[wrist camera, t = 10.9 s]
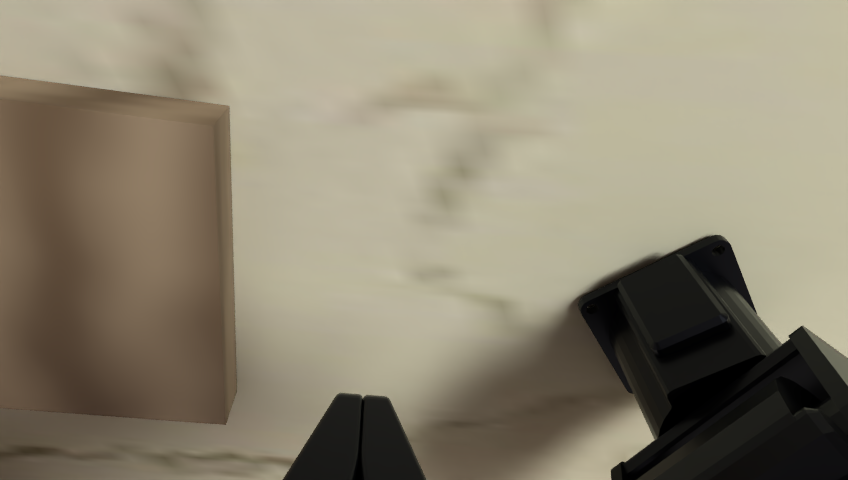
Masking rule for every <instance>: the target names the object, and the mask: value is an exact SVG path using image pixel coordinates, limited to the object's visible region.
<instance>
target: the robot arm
mask: <svg viewBox="0 0 848 480" xmlns="http://www.w3.org/2000/svg"><path fill="white" fill-rule="evenodd" d="M719 245H720V246H719ZM716 246H719V248H718V249H716V250H713V249H714V248H715V247H716ZM712 250H713V251H712ZM592 304H595V305H594V306H593V307H591V308H587V307H588V306H589V305H592ZM578 307H579V309H580V312H581V314H582V316H583V317H584V319H585V321H586V322H587V324H588V326H589V328H590V329H591V331H592V333H593V334H594V336H595V338H596V339H597V341H598V343H599V344H600V346H601V348H602V349H603V351H604V353H605V354H606V356H607V358H608V359H609V361H610V363H611V364H612V366H613V368H614V369H615V371H616V373H617V374H618V376H619V378H620V379H621V381H622V383H623V385H624V386H625V388H626V390H627V391H628V392H629V393H632V394H634V396H635V398H636V400H637V402H638V405H639V407H640V409H641V411H642V413H643V415H644V418H645V420H646V422H647V424H648V426H649V428H650V431H651V433H652V435H653V437H654V439H655V440H654V441H653V442H652V443H650V444H649V445H648V446H646V447H645V448H644V449H642V450H641V451H640V452H638V453H637V454H636V455H634V456H633V457H632V458H630V459H629V460H628V461H626V462H621V463H619V464H618V465H617V466H615V467H614V468H613V469H611V480H848V358H847V357H845V356H844V355H843V354H841V353H840V352H839V351H837V350H836V349H834V348H833V347H832V346H830V345H829V344H827V343H826V342H825V341H823V340H822V339H821V338H819V337H818V336H816V335H815V334H814V333H812V332H811V331H809V330H808V329H807V328H805V327H804V326H801V327H800V328H798V329H797V330H796V331H794V332H793V333H792V334H790V335H789V338H790V339H789V340H788V341H786V342H785V343H784V344H781V342H780V341H779V340H778V339H777V338H776V337H775V335H774V334H773V333H772V332H771V331H770V329H769V328H768V327H767V326H766V325H765V323H764V322H763V321H762V320H761V319H760V317H759V316H758V315H757V313H756V310H755V307H754V305H753V302H752V300H751V297H750V294H749V292H748V289H747V286H746V284H745V281H744V278H743V276H742V273H741V271H740V268H739V265H738V263H737V260H736V257H735V255H734V252H733V250H732V247H731V245H730V243H729V242H728V241H727V240H726V239H725V238H724V237H723V236H721V235H714V236H711V237H708V238H706V239H704V240H702V241H700V242H698V243H696V244H694V245H691V246H689V247H687V248H685V249H683V250H681V251H679V252H677V253H674V254H672V255H670V256H668V257H666V258H664V259H662V260H660V261H657V262H655V263H653V264H651V265H649V266H647V267H645V268H643V269H640V270H638V271H636V272H634V273H632V274H630V275H628V276H626V277H623V278H621V279H619V280H617V281H615V282H613V283H611V284H608V285H606V286H604V287H602V288H600V289H598V290H596V291H594V292H591V293H589V294H587V295H585V296H584V297H582V298H581V299H580V300H579V303H578ZM283 480H426V478H425V476H424V473H423V471H422V469H421V467H420V465H419V462H418V460H417V458H416V456H415V454H414V452H413V449H412V447H411V445H410V443H409V441H408V438H407V436H406V434H405V432H404V430H403V427H402V425H401V423H400V421H399V419H398V416H397V414H396V412H395V410H394V408H393V406H392V403H391V401H390V400H389V398H387V397H385V396H374V395H366V396H365V397H364V398H362V396H361V395H359V394H349V393H339V394H338V395H337V396H336V397H335V398H334V400H333V401H332V403H331V405H330V406H329V408H328V409H327V411H326V412H325V414H324V416H323V417H322V419H321V420H320V422H319V423H318V425H317V427H316V428H315V430H314V431H313V433H312V435H311V436H310V438H309V439H308V441H307V442H306V444H305V446H304V447H303V449H302V450H301V452H300V453H299V455H298V457H297V458H296V460H295V461H294V463H293V464H292V466H291V468H290V469H289V471H288V472H287V474H286V475H285V477H284V479H283Z"/></svg>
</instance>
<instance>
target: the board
mask: <svg viewBox="0 0 848 480" xmlns="http://www.w3.org/2000/svg"><path fill="white" fill-rule="evenodd" d="M236 392H237V378H236V340H235V303H234V266H233V228H232V191H231V153H230V116H229V106H225V105H218V104H210V103H203V102H195V101H188V100H180V99H173V98H165V97H157V96H150V95H142V94H135V93H127V92H120V91H112V90H105V89H97V88H89V87H82V86H74V85H67V84H59V83H52V82H44V81H37V80H29V79H22V78H14V77H6V76H0V408H8V409H21V410H35V411H48V412H62V413H75V414H89V415H102V416H116V417H129V418H143V419H156V420H169V421H183V422H196V423H210V424H223V425H226V422H227V419H228V416H229V413H230V410H231V407H232V404H233V401H234V398H235V395H236Z"/></svg>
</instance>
